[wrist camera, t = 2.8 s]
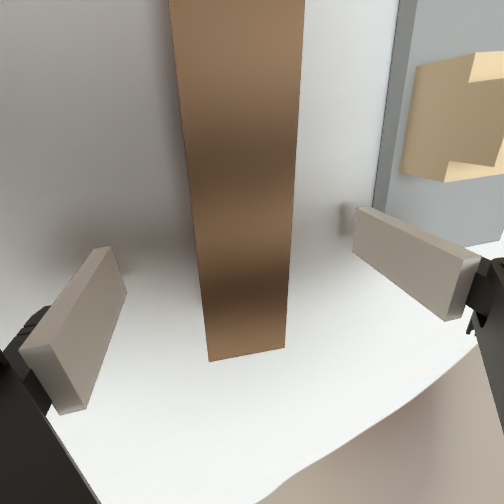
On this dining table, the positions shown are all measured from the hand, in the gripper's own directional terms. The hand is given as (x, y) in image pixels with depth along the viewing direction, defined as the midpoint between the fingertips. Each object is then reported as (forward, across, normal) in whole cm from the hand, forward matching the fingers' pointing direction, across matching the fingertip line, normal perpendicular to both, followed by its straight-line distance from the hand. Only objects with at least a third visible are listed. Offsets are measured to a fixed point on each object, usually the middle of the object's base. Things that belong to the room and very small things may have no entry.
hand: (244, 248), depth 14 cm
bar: (+2, 0, +5) cm, 6 cm away
